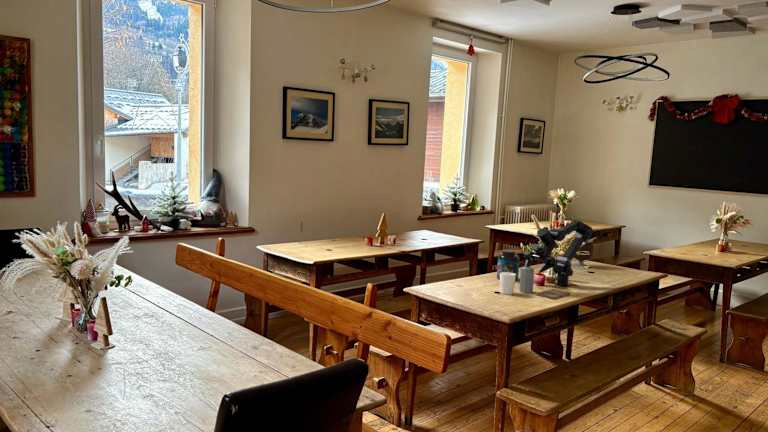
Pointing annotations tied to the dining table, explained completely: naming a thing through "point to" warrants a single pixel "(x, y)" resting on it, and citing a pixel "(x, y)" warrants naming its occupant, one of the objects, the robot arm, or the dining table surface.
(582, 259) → the mate gourd
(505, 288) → the white cup
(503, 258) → the container
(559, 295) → the walnut board
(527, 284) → the canister
